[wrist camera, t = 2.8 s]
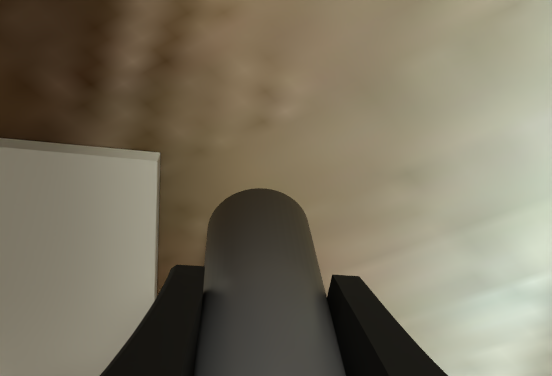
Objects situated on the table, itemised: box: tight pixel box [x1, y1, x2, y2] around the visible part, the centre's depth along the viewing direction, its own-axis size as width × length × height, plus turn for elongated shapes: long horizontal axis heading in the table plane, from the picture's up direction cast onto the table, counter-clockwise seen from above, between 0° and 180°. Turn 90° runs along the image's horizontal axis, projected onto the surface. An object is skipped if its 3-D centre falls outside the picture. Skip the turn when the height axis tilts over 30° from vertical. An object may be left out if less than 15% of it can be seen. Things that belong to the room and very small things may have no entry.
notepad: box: [0, 138, 160, 376], centre depth 16 cm, size 12×10×1 cm
